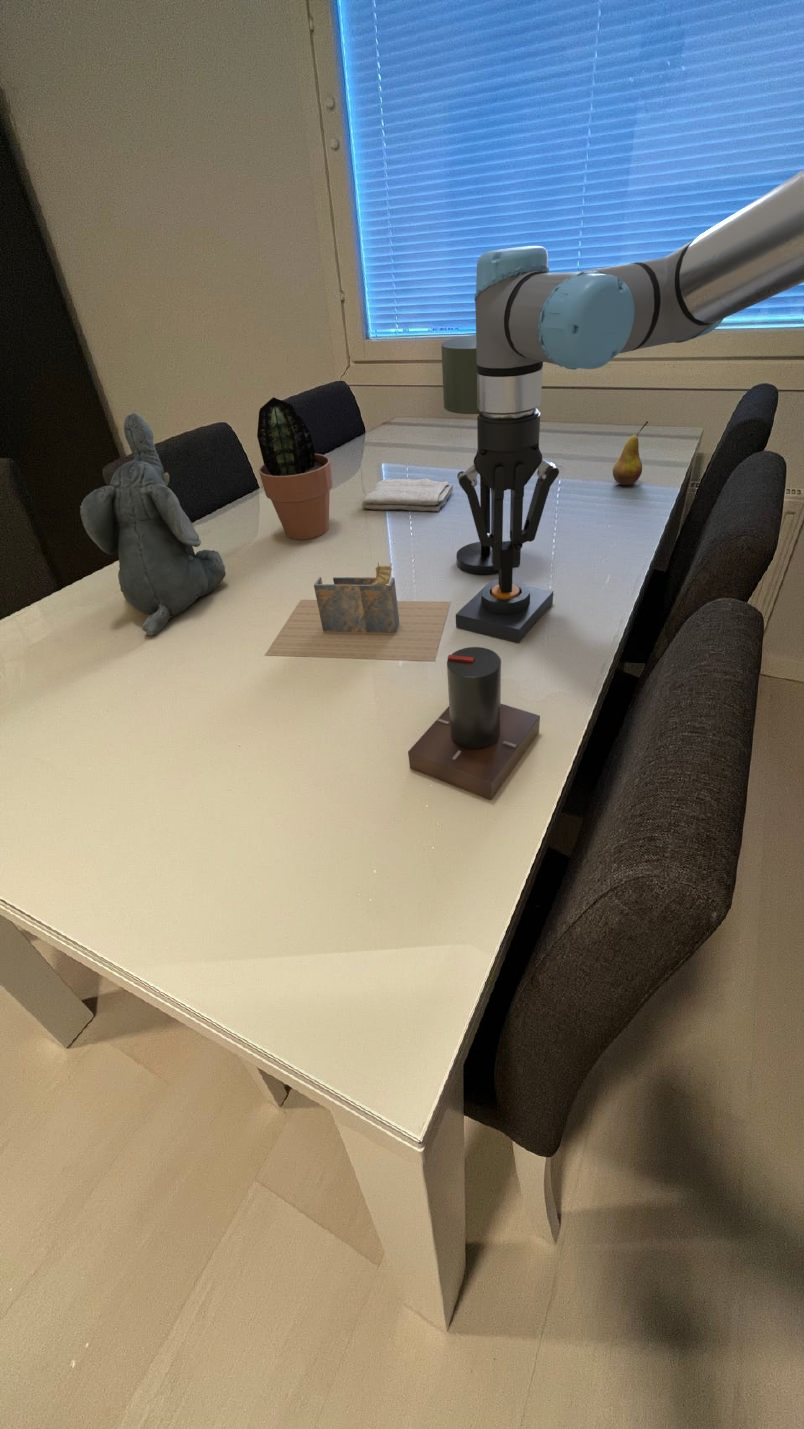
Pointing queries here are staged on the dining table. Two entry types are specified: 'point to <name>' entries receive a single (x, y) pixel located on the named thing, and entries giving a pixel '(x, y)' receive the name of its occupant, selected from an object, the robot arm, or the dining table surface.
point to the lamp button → (508, 595)
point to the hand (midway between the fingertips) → (505, 587)
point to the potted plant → (293, 471)
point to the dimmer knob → (474, 696)
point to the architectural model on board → (362, 622)
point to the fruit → (629, 462)
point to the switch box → (504, 612)
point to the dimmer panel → (475, 753)
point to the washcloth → (408, 495)
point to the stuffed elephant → (150, 534)
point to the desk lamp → (463, 400)
